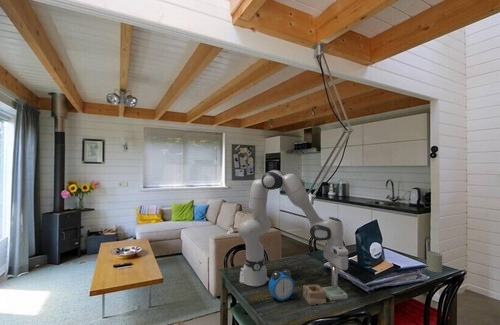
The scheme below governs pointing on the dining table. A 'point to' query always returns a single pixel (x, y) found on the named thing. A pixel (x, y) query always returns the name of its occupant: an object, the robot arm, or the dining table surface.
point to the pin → (334, 277)
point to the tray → (335, 293)
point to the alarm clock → (281, 285)
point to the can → (434, 261)
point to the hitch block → (314, 294)
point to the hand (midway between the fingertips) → (334, 271)
